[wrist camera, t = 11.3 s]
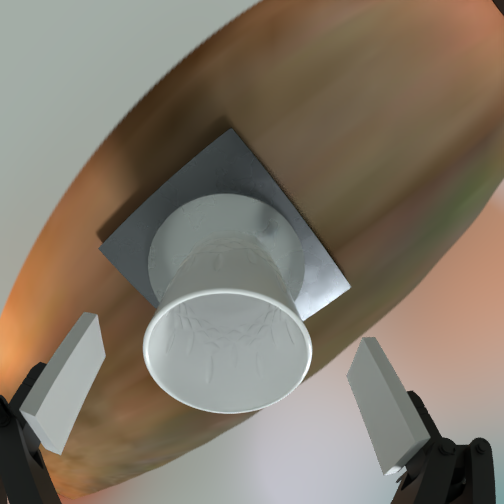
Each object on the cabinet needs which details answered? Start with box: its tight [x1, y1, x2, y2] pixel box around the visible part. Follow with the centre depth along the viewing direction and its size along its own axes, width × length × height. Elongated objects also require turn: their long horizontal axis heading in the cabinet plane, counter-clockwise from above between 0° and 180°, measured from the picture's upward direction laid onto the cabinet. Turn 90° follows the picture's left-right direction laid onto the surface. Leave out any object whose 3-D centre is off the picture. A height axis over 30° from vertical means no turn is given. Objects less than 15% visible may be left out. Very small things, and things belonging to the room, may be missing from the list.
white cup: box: [143, 230, 312, 414], centre depth 18 cm, size 8×8×10 cm
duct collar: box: [98, 128, 351, 321], centre depth 23 cm, size 14×16×2 cm
